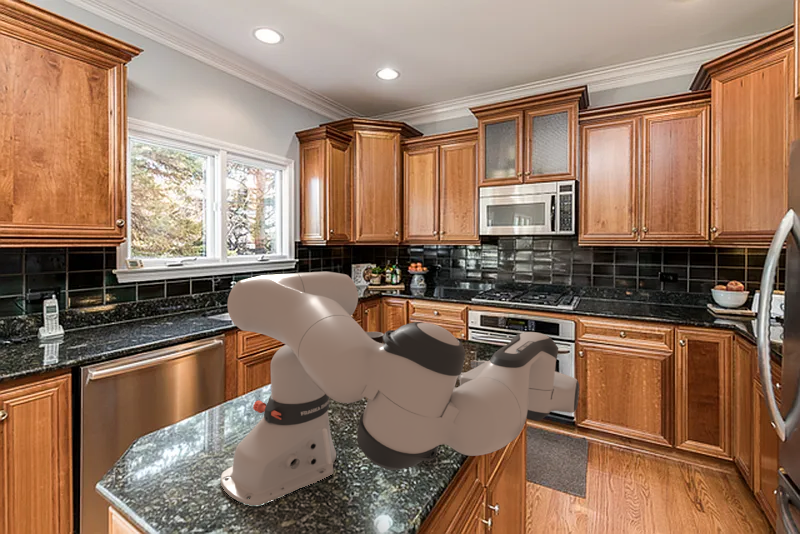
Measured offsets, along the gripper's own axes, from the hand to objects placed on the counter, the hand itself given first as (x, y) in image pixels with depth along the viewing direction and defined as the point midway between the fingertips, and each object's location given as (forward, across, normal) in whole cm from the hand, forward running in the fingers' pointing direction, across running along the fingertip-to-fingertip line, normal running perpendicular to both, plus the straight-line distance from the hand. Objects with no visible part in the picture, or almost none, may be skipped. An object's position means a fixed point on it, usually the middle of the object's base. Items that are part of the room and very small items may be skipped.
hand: (463, 367), depth 105 cm
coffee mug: (+46, +10, -11) cm, 49 cm away
